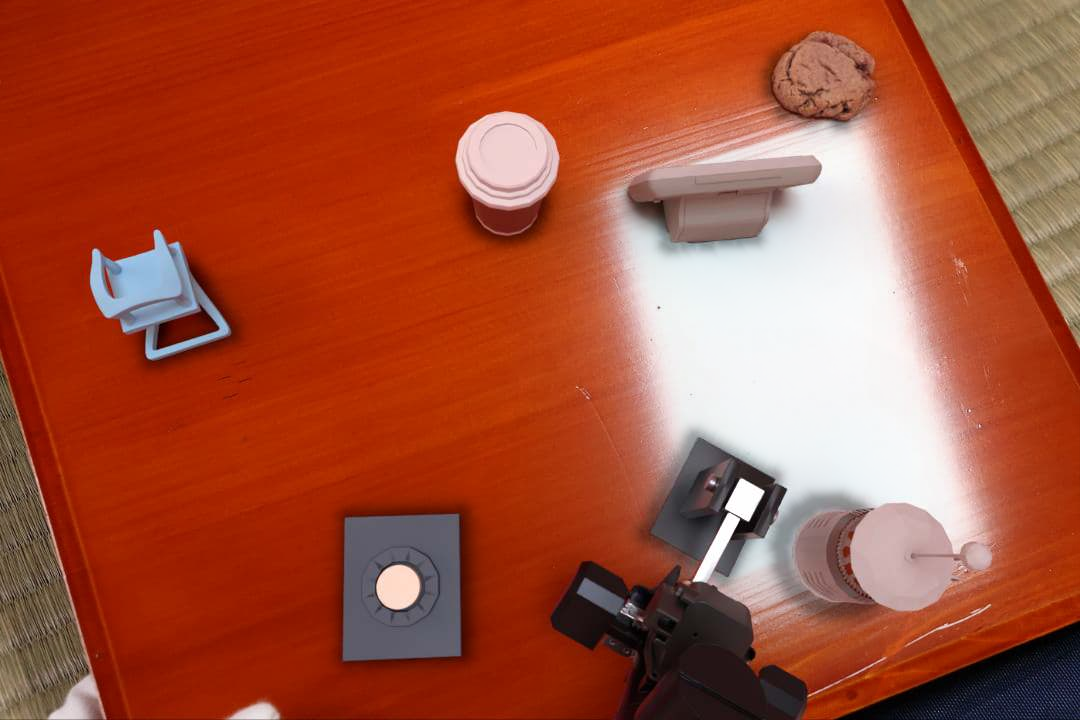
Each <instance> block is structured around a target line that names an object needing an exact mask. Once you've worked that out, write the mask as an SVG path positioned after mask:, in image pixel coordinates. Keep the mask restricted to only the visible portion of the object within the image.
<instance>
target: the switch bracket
mask: <svg viewBox="0 0 1080 720" xmlns="http://www.w3.org/2000/svg"><path fill="white" fill-rule="evenodd" d="M736 478H742V479H744V480H746V481H748V482H750V483H751V484H753V485H755V486H757V487H759V488H760V489H762V490H764V491H765V492H764V494H763V496H762V498H761V500H760V502H759V504H758V506H757V508H756V510H755V512H754V514H753V515H752V517H751V519H750V521H749V522H746V521H742V520H740V521H739V523H738V525H737V527H736V529H735V530H734V532H733V534H732V536H731V538H730V540H729V542H728V544H727V546H726V548H725V550H724V552H723V554H722V555H721V557H720V559H719V561H718V563H717V565H716V567H715V569H714V571H715V572H717V573H719V574H721V576H724V577H726V578H729V577H730V575H731V573H732V571H733V568H734V566H735V564H736V562H737V560H738V559H739V556H740V554H741V552H742V550H743V548H744V546H745V544H746V542H747V541H748V540H761V539H762V540H763V539H765V537H766V536H767V533H768V531H769V529H770V527H771V526H772V525H773V524H775V522H776V521H777V518H778V517H779V514H780V510H779V508H780V506H781V504H782V502H783V500H784V498H785V496H786V493H787V492H788V488H786V487H785V486H783V485H781V484H779V483H777V482H776V478H775V477H772V476H770V475H769V474H767V473H766V472H764V471H762V470H760V469H758V468H757V467H755V466H752V464H749V463H747V462H745V461H744V460H742V459H740V458H738V457H736V456H735V455H733V454H731V453H729V452H728V451H725V450H723V449H722V448H720V447H718V446H716V445H714V444H713V443H711V442H709V441H707V440H706V439H704V438H702V437H700V436H698V437H696V440H695V442H694V444H693V446H692V447H691V449H690V451H689V454H688V456H687V457H686V459H685V461H684V462H683V465H682V467H681V468H680V471H679V473H678V475H677V477H676V478H675V481H674V483H673V484H672V486H671V489H670V490H669V492H668V494H667V496H666V498H665V500H664V502H663V504H662V506H661V508H660V510H659V512H658V514H657V516H656V518H655V520H654V522H653V523H652V526H651V528H650V529H649V531H648V534H649V535H651V536H653V537H655V538H656V539H658V540H660V541H662V542H663V543H666V544H667V545H668V546H670V547H672V548H674V549H676V550H678V551H679V552H681V553H682V554H684V555H686V556H689V557H690V558H692V559H694V560H695V561H697V562H698V563H699V562H700V560H701V558H702V556H703V554H704V553H705V551H706V549H707V547H708V545H709V543H710V541H711V539H712V537H713V535H714V533H715V532H716V530H717V528H718V526H719V524H720V522H721V520H722V518H723V516H724V514H725V512H726V511H724V510H722V509H721V507H722V505H723V503H724V501H725V499H726V497H727V495H728V493H729V491H730V489H731V487H732V485H733V483H734V481H735V479H736ZM775 482H776V483H775Z"/></svg>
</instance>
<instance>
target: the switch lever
mask: <svg viewBox="0 0 1080 720" xmlns="http://www.w3.org/2000/svg"><path fill="white" fill-rule="evenodd" d="M764 492H765V491H764V490H762V489H760V488H759V487H757V486H755V485H753V484H751V483H750V482H748V481H746V480H744V479H742V478H736V479H735V481H734V483H733V485H732V487H731V489H730V491H729V493H728V495H727V497H726V499H725V501H724V503H723V505H722V507H721V509H722V510H724V511H726V512H725V514H724V516H723V518H722V520H721V522H720V524H719V526H718V528H717V530H716V532H715V533H714V535H713V537H712V539H711V541H710V543H709V545H708V547H707V549H706V551H705V553H704V554H703V556H702V558H701V560H700V562H699V561H698V564H697V566H696V568H695V569H694V571H693V573H692V575H691V577H690V578H684V579H681V580H678V581H677V584H676V586H677V585H678V583H679V582H680V581H681V582H683V583H684V584H686V585H688V586H689V585H690V584H692V583H694V582H697V581H701V582H705V583H707V584H708V582H709V581H710V578H711V577H712V575H713V573H714V571H715V570H714V569H715V567H716V565H717V563H718V561H719V559H720V557H721V555H722V554H723V552H724V550H725V548H726V546H727V544H728V542H729V540H730V538H731V536H732V534H733V532H734V530H735V529H736V527H737V525H738V523H739V521H740V520H742V521H746V522H749V521H750V519H751V517H752V515H753V514H754V512H755V510H756V508H757V506H758V504H759V502H760V500H761V498H762V496H763V494H764ZM676 586H675V587H676Z"/></svg>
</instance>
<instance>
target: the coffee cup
mask: <svg viewBox="0 0 1080 720" xmlns="http://www.w3.org/2000/svg"><path fill="white" fill-rule="evenodd" d="M560 159H561V158H560V154H559V150H558V146H557V142H556V139H555V138H554V137H553V135H552V134H551V133H550V132H549V131H548V129H547V128H546V126H545V125H544V124H543V123H541V122H540V121H538V120H536V119H534V118H532V117H531V116H530V115H528V114H526V113H519V112H514V111H507V110H505V111H500V112H494V113H490V114H486V115H484V116H483V117H482V118H480V119H478V120H477V121H475V122H473V123H472V124H469V126H468V128H467V129H466V131H465V132H464V133H463V135H462V136H461V137H460V139H459V141H458V143H457V150H456V154H455V161H454V162H455V166H456V170H457V175H458V180H459V182H460V184H461V185H462V186H463V187H464V189H465V190H466V192H467V193H468V194H469V196H470V197H471V200H472V203H473V208H474V212H475V216H476V218H477V220H478V221H479V223H480V224H481V225H482V226H483V228H485V229H486V230H487V231H490V232H491V233H493V234H495V235H501V236H506V237H509V236H513V235H517V234H521V233H523V232H525V231H526V230H527V229H529V228H530V227H531V226H532V225H533V223H534V222H535V220H536V219H537V218H538V215H539V210H540V208H541V205H542V201H543V199H544V197H546V196H547V194H548V193H549V191H550V190H551V188H552V187H553V186H554V184H555V183H556V181H557V178H558V171H559V166H560Z"/></svg>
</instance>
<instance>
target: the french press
mask: <svg viewBox="0 0 1080 720" xmlns="http://www.w3.org/2000/svg"><path fill="white" fill-rule="evenodd" d="M791 552H792V562H793V565H792V566H793V568H794V570H795V572H796V574H797V576H798V578H799V580H800V582H801V584H802V585H803V586H805V588H806V589H808V590H809V591H810V593H812V594H813V595H814V596H815V597H817V598H820V599H822V600H826V601H828V602H831V603H853V604H860V605H881V606H883V607H886V608H889V609H891V610H893V611H896V612H915V611H916V612H917V611H921V610H922V609H924V608H926V607H929V606H931V605H933V604H935V603H937V601H938V600H939V599H940V598H941V596H942V595H943V594H944V593H945V591H946V590H947V589H948V588H949V586H950V585H951V582H960V581H962V579H961V577H960V576H957V575H954V574H953V573H954V569H955V562H961V563H962V564H963V567H964V568H966V569H968V570H970V571H985V570H986V569H988V568H989V567H991V564H992V561H993V556H994V555H993V553H992V551H991V550H990V548H989V546H988V545H986V544H984V543H982V542H980V541H977V540H974V541H969V542H966V543H964V544H963V545H962V546H961V548H960V552H959V553H954V548H953V543H952V542H951V539H950V538H949V536H948V534H947V532H946V530H945V528H944V526H943V525H942V523H941V522H940V521H939V520H937V519H936V518H935V517H934V516H933V515H932V514H930V512H929V511H927V510H926V509H923V508H921V507H918V506H915V505H913V504H911V503H908V502H886V503H883V504H882V505H880V506H878V507H876V508H875V507H865V508H858V509H856V508H855V509H849V510H822V511H821V512H820V511H819V512H818V513H816V514H814V515H812V516H809V517H808V518H807V519H806V520H805V521H804V522H803V523H802V524H801V526H800V527H799V528H798V529H797V531H796V533H795V536H794V540H793V542H792V547H791Z"/></svg>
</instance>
